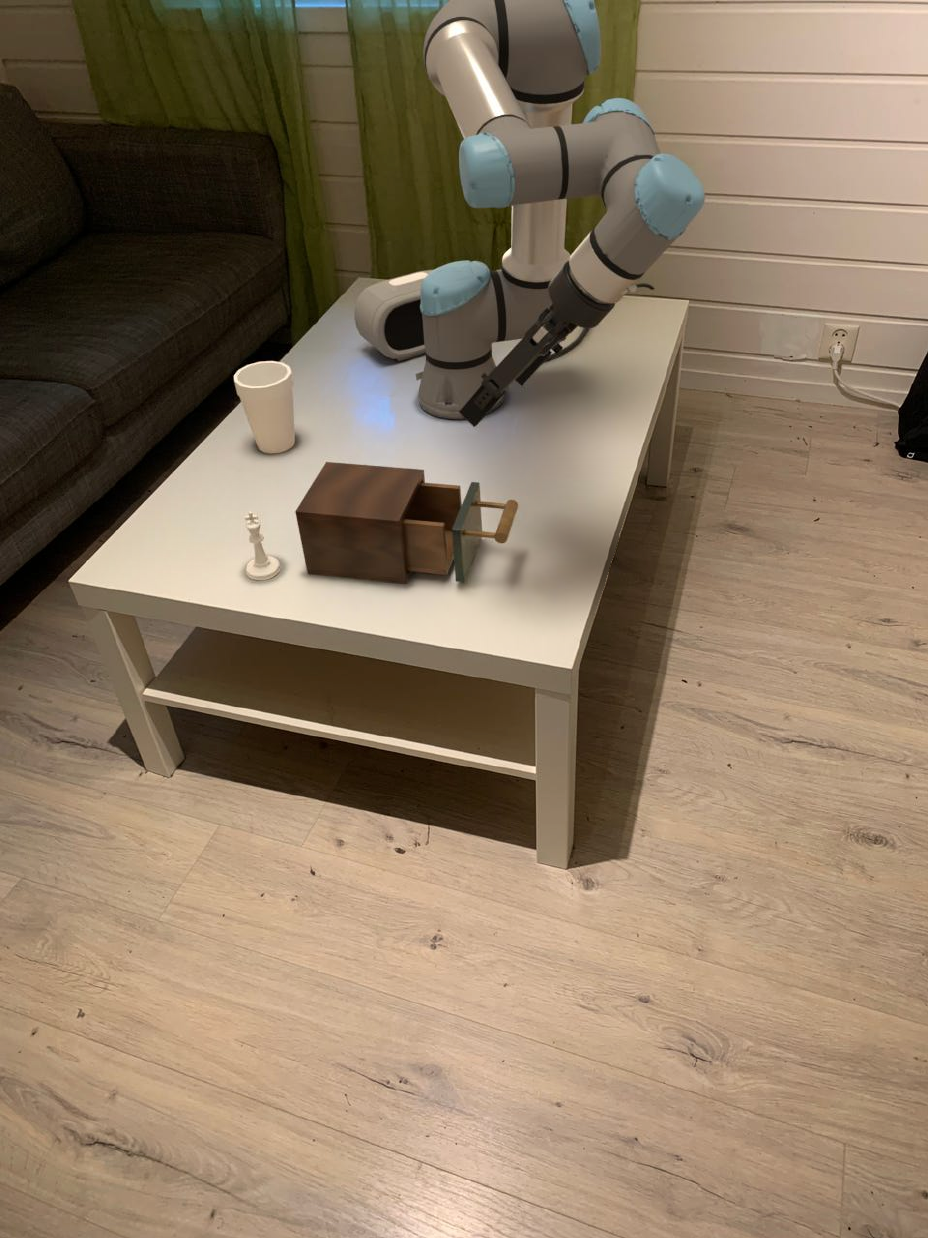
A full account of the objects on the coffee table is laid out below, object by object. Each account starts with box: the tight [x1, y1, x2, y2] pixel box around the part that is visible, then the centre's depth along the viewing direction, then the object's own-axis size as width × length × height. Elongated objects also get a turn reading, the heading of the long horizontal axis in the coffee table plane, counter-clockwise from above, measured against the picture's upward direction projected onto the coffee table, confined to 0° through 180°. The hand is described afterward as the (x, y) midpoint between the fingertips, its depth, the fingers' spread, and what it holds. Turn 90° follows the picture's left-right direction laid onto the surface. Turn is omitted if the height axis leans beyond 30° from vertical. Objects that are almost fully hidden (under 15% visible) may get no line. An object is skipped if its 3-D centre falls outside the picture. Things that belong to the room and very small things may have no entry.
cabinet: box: [294, 461, 426, 585], centre depth 143 cm, size 15×13×11 cm
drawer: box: [402, 481, 519, 583], centre depth 141 cm, size 20×12×9 cm, turn 77°
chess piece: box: [244, 511, 281, 581], centre depth 142 cm, size 5×5×10 cm
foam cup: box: [233, 360, 296, 455], centre depth 168 cm, size 10×9×13 cm
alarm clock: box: [353, 269, 434, 362], centre depth 193 cm, size 21×10×13 cm, turn 120°
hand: (492, 397), depth 130 cm, fingers open, 13 cm apart
